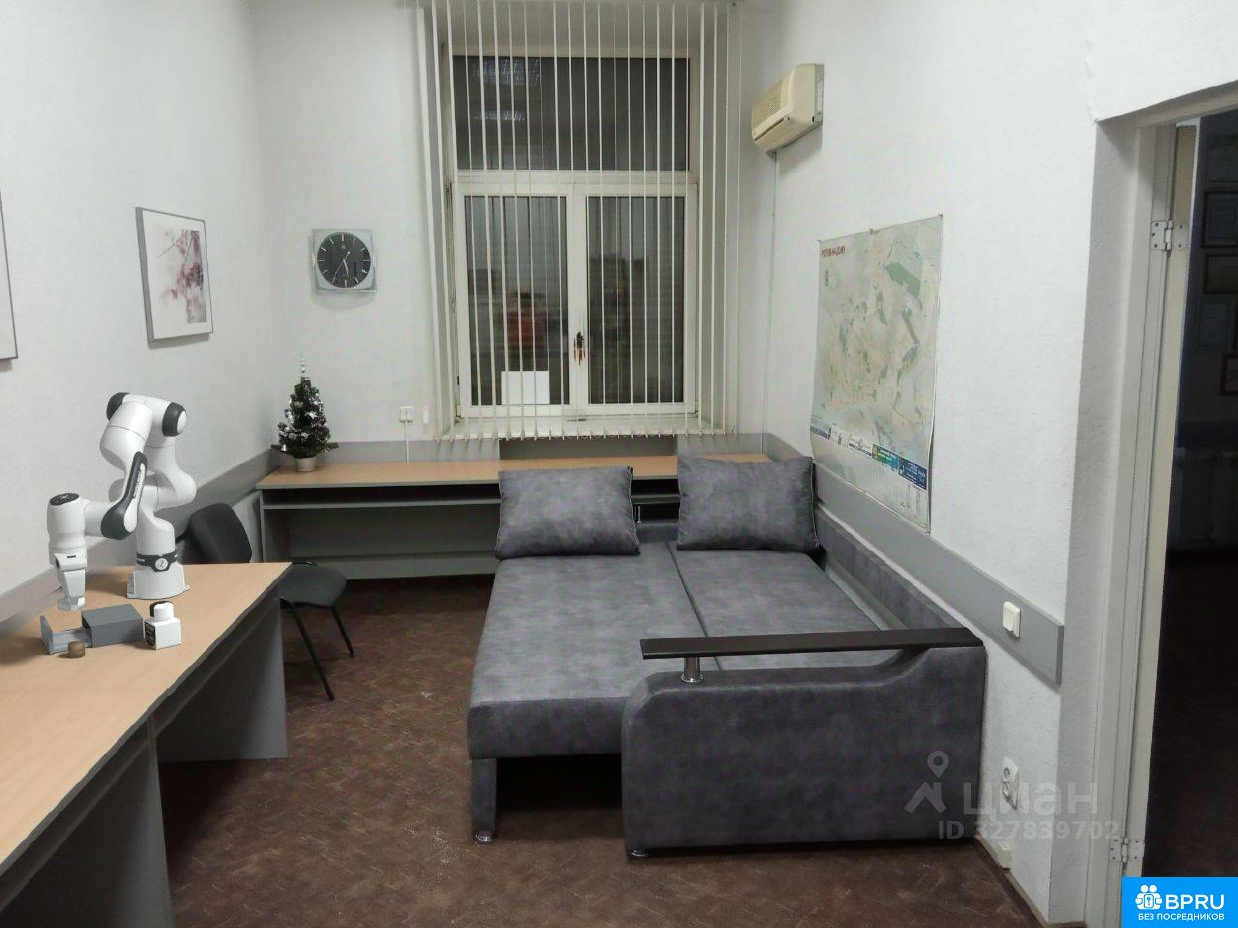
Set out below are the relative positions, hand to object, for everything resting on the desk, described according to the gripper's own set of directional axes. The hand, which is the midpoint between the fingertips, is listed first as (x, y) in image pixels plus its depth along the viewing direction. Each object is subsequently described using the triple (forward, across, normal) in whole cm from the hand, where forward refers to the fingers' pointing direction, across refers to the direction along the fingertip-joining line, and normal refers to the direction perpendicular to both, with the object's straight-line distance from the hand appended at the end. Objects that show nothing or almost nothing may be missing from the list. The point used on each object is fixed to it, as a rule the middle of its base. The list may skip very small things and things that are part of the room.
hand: (71, 605), depth 265 cm
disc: (0, 0, 0) cm, 0 cm away
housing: (+14, -11, +11) cm, 21 cm away
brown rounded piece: (+14, +1, 0) cm, 14 cm away
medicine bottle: (+14, +4, +21) cm, 26 cm away
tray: (+14, -11, +1) cm, 18 cm away
